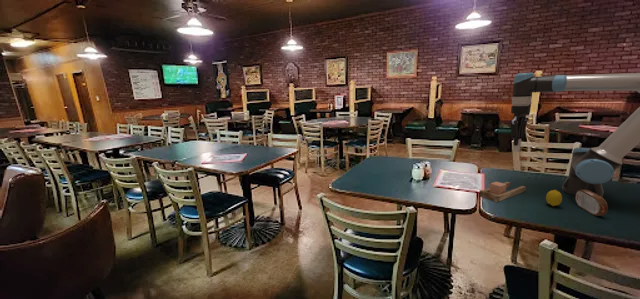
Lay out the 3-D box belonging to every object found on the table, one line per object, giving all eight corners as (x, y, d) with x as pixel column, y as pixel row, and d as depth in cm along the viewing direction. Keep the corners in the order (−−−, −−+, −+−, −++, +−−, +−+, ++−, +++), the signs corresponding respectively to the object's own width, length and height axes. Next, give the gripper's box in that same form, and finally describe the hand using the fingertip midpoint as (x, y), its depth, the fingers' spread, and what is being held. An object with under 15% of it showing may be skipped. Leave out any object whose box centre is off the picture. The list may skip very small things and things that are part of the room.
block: (505, 195, 136) (506, 184, 134) (499, 197, 133) (500, 186, 132) (495, 192, 140) (496, 181, 139) (489, 194, 138) (490, 183, 136)
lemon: (557, 209, 119) (559, 193, 117) (542, 205, 124) (544, 189, 122) (563, 206, 122) (565, 190, 120) (548, 202, 127) (551, 186, 125)
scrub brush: (606, 219, 110) (610, 200, 108) (597, 219, 110) (601, 200, 109) (580, 203, 124) (583, 186, 122) (572, 203, 125) (575, 186, 123)
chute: (525, 191, 140) (526, 185, 140) (497, 202, 129) (497, 196, 129) (507, 186, 148) (507, 180, 147) (478, 195, 137) (479, 190, 137)
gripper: (519, 104, 139) (514, 148, 144) (505, 106, 133) (501, 152, 138) (536, 104, 132) (530, 150, 138) (522, 106, 126) (517, 154, 131)
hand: (516, 151), depth 138 cm, fingers closed
